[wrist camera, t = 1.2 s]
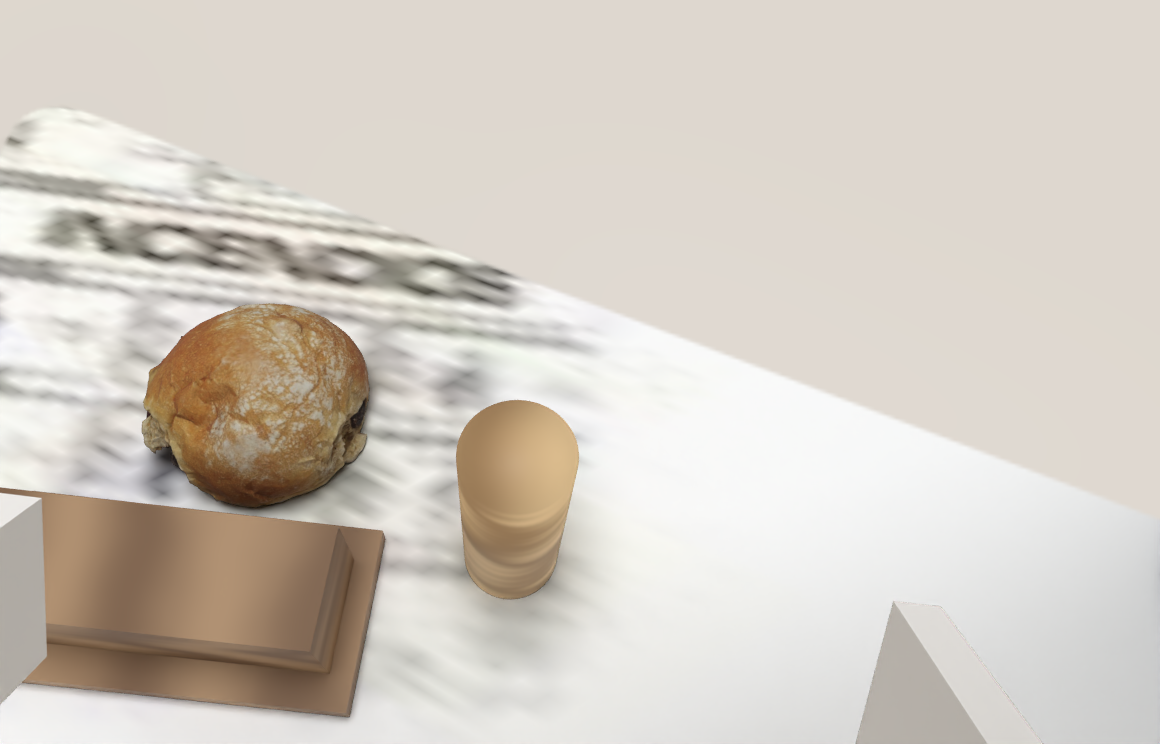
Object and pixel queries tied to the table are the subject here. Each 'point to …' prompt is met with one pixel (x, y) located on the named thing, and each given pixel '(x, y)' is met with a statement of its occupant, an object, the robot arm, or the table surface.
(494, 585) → the post
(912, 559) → the table surface
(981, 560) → the table surface
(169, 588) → the base
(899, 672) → the robot arm
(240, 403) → the bread roll
